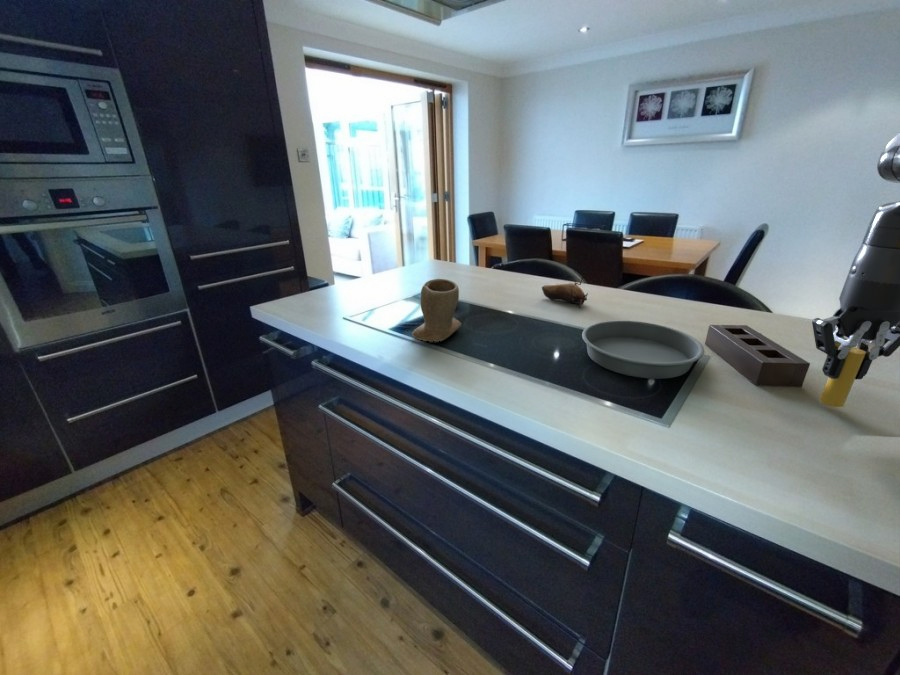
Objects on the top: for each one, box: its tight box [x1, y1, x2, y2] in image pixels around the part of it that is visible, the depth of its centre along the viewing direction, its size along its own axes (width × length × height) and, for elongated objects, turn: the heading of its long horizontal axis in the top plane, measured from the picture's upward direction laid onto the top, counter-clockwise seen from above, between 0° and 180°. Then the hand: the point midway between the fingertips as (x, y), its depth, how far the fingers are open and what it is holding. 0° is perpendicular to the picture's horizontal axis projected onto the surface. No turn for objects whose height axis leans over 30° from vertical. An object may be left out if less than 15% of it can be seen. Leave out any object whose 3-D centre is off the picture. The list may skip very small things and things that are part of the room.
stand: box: [704, 324, 811, 388], centre depth 83 cm, size 8×20×5 cm, turn 174°
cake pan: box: [581, 320, 705, 380], centre depth 87 cm, size 25×25×4 cm
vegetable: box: [541, 276, 589, 308], centre depth 126 cm, size 16×11×10 cm
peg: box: [819, 347, 866, 408], centre depth 65 cm, size 3×3×10 cm
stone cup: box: [411, 278, 462, 343], centre depth 101 cm, size 15×12×15 cm
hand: (842, 376), depth 65 cm, fingers closed on peg, 3 cm apart
